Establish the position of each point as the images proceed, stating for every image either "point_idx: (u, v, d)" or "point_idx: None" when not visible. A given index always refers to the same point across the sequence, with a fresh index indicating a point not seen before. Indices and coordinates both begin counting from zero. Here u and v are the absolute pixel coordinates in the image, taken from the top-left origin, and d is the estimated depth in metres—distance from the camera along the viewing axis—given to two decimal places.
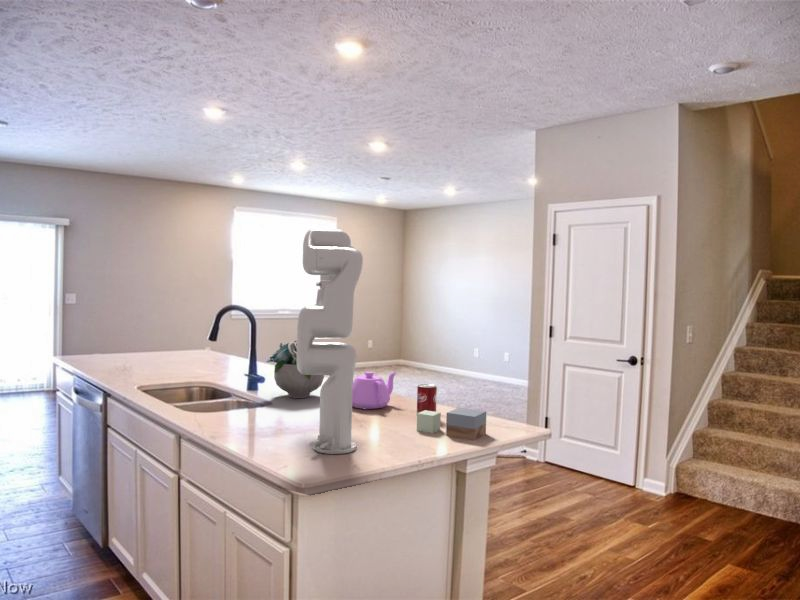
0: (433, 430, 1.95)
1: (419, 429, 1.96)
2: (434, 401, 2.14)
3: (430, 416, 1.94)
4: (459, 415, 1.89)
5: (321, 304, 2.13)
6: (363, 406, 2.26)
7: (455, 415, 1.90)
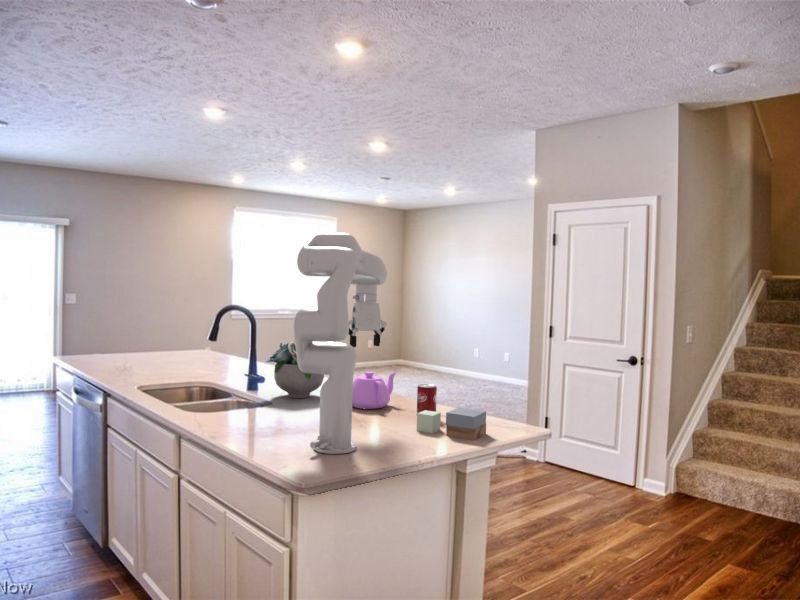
0: (433, 430, 1.95)
1: (419, 429, 1.96)
2: (434, 401, 2.14)
3: (430, 416, 1.94)
4: (459, 415, 1.89)
5: (361, 318, 2.05)
6: (363, 406, 2.26)
7: (455, 415, 1.90)
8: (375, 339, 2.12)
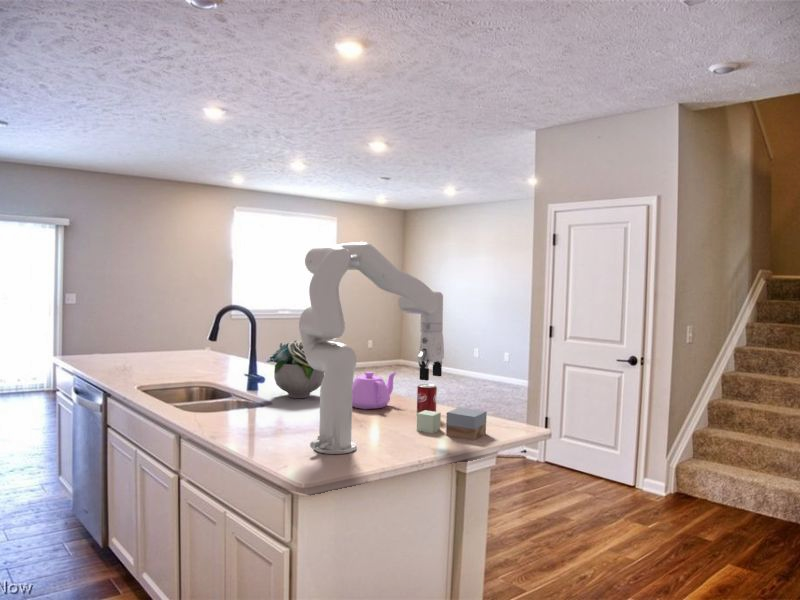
0: (433, 430, 1.95)
1: (419, 429, 1.96)
2: (434, 401, 2.14)
3: (430, 416, 1.94)
4: (459, 415, 1.89)
5: (434, 349, 1.93)
6: (363, 406, 2.26)
7: (455, 415, 1.90)
8: (436, 369, 2.02)
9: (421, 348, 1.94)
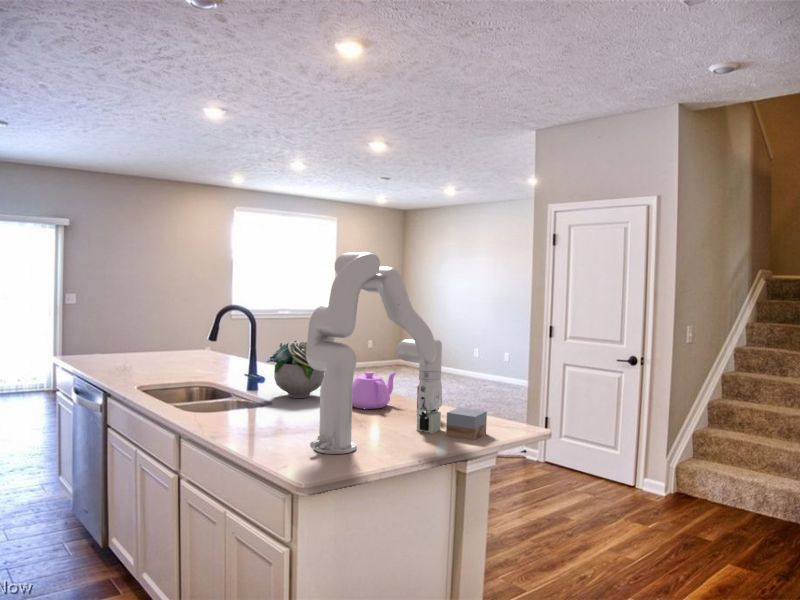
0: (433, 430, 1.95)
1: (419, 429, 1.96)
2: None
3: (430, 416, 1.94)
4: (459, 415, 1.89)
5: (432, 398, 1.94)
6: (363, 406, 2.26)
7: (455, 415, 1.90)
8: None
9: (419, 396, 1.94)
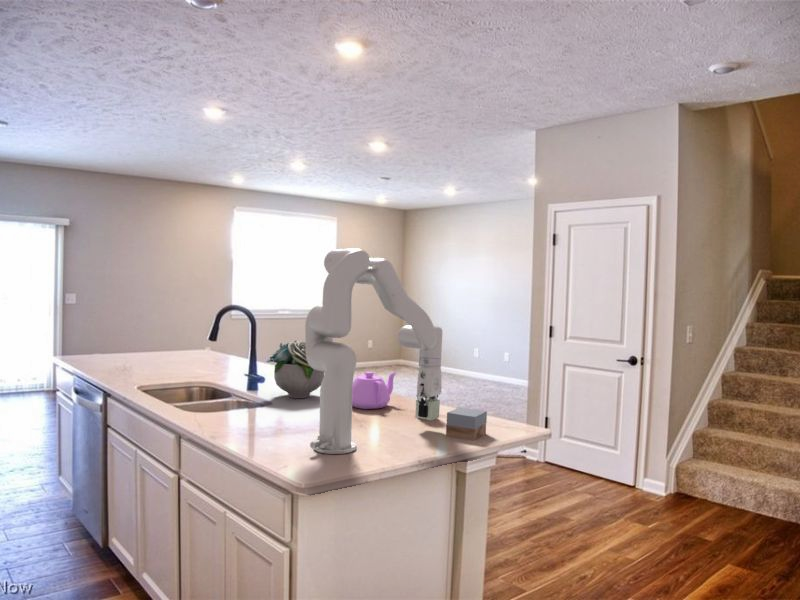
0: (432, 417, 1.94)
1: (418, 416, 1.96)
2: None
3: (429, 403, 1.94)
4: (459, 415, 1.89)
5: (431, 384, 1.93)
6: (363, 406, 2.26)
7: (455, 415, 1.90)
8: None
9: (419, 383, 1.94)
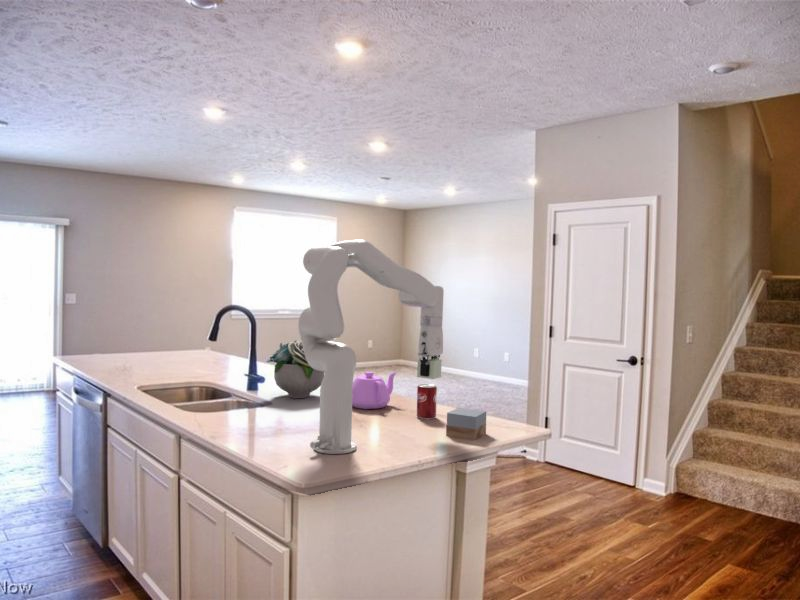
0: (434, 376, 1.94)
1: (420, 375, 1.96)
2: (434, 401, 2.14)
3: (431, 362, 1.93)
4: (460, 415, 1.89)
5: (433, 343, 1.93)
6: (363, 406, 2.26)
7: (456, 415, 1.89)
8: None
9: (420, 342, 1.93)
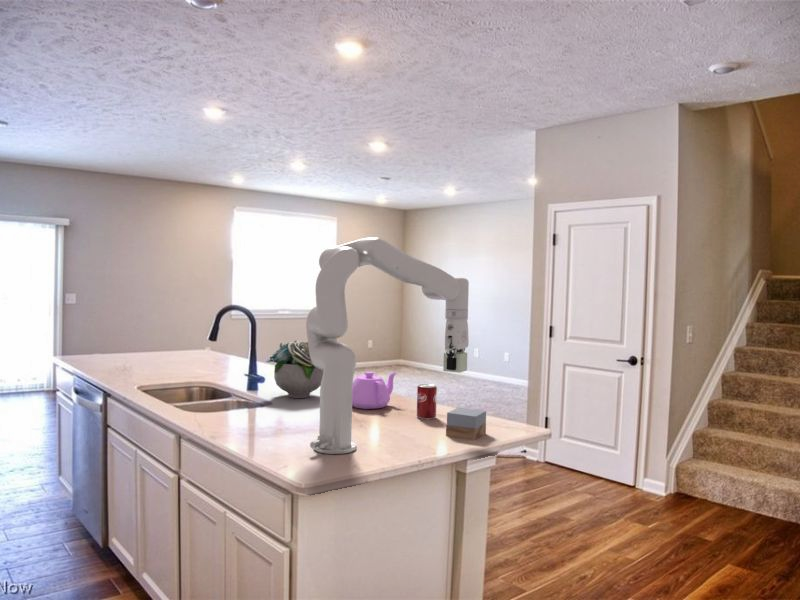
0: (460, 369, 1.91)
1: (446, 369, 1.93)
2: (434, 401, 2.14)
3: (457, 355, 1.91)
4: (460, 415, 1.89)
5: (459, 336, 1.90)
6: (363, 406, 2.26)
7: (456, 415, 1.90)
8: None
9: (446, 335, 1.90)
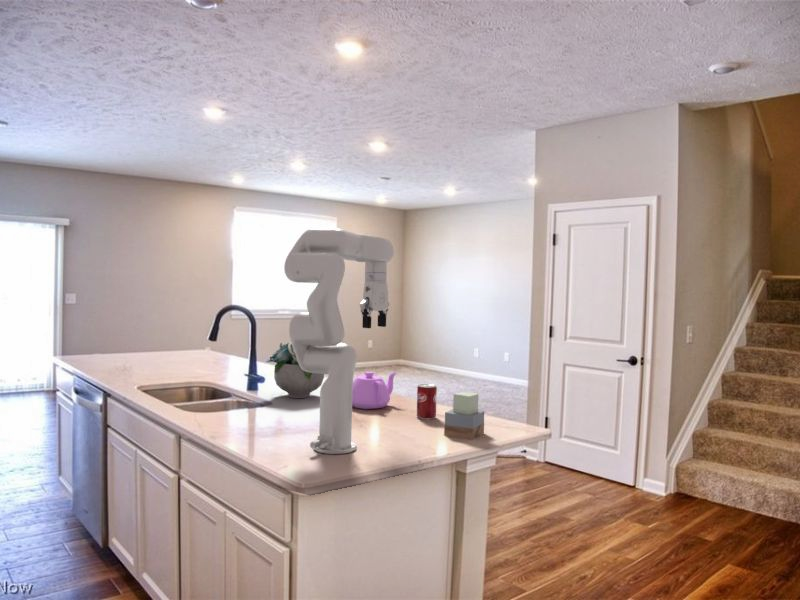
0: (469, 411, 1.90)
1: (455, 410, 1.92)
2: (434, 401, 2.14)
3: (466, 397, 1.90)
4: (458, 415, 1.90)
5: (376, 298, 1.97)
6: (363, 406, 2.26)
7: (453, 415, 1.90)
8: (380, 319, 2.05)
9: (364, 297, 1.97)
